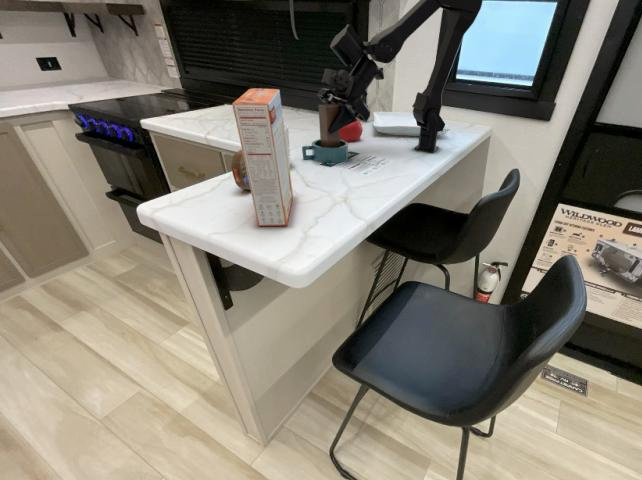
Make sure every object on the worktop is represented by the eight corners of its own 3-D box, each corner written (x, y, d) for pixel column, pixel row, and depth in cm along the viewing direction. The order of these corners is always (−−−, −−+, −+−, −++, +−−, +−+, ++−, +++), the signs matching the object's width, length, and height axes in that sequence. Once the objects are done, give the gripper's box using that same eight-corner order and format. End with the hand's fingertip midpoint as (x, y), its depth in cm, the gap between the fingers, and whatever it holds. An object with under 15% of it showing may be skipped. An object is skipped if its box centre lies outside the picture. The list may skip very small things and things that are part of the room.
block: (333, 154, 98) (331, 103, 89) (340, 157, 95) (339, 106, 87) (321, 156, 96) (318, 104, 87) (328, 159, 93) (326, 107, 85)
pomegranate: (367, 142, 112) (368, 111, 106) (342, 146, 107) (341, 114, 101) (352, 135, 118) (352, 106, 112) (327, 139, 113) (326, 108, 107)
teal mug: (342, 153, 101) (342, 137, 98) (352, 164, 94) (352, 147, 91) (300, 156, 97) (298, 139, 95) (306, 167, 90) (305, 149, 87)
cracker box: (266, 197, 73) (248, 87, 60) (294, 197, 74) (281, 88, 61) (255, 227, 63) (229, 100, 49) (287, 227, 63) (270, 101, 50)
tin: (247, 195, 74) (239, 156, 69) (234, 194, 74) (225, 155, 69) (275, 173, 85) (270, 138, 80) (263, 172, 86) (258, 137, 80)
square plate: (448, 140, 118) (451, 128, 115) (372, 137, 117) (373, 125, 115) (437, 123, 139) (439, 112, 136) (372, 120, 138) (373, 110, 136)
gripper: (321, 52, 88) (288, 103, 90) (361, 58, 76) (323, 116, 78) (346, 85, 96) (316, 131, 98) (386, 95, 85) (350, 146, 87)
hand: (325, 131), depth 90 cm, fingers closed on block, 4 cm apart
